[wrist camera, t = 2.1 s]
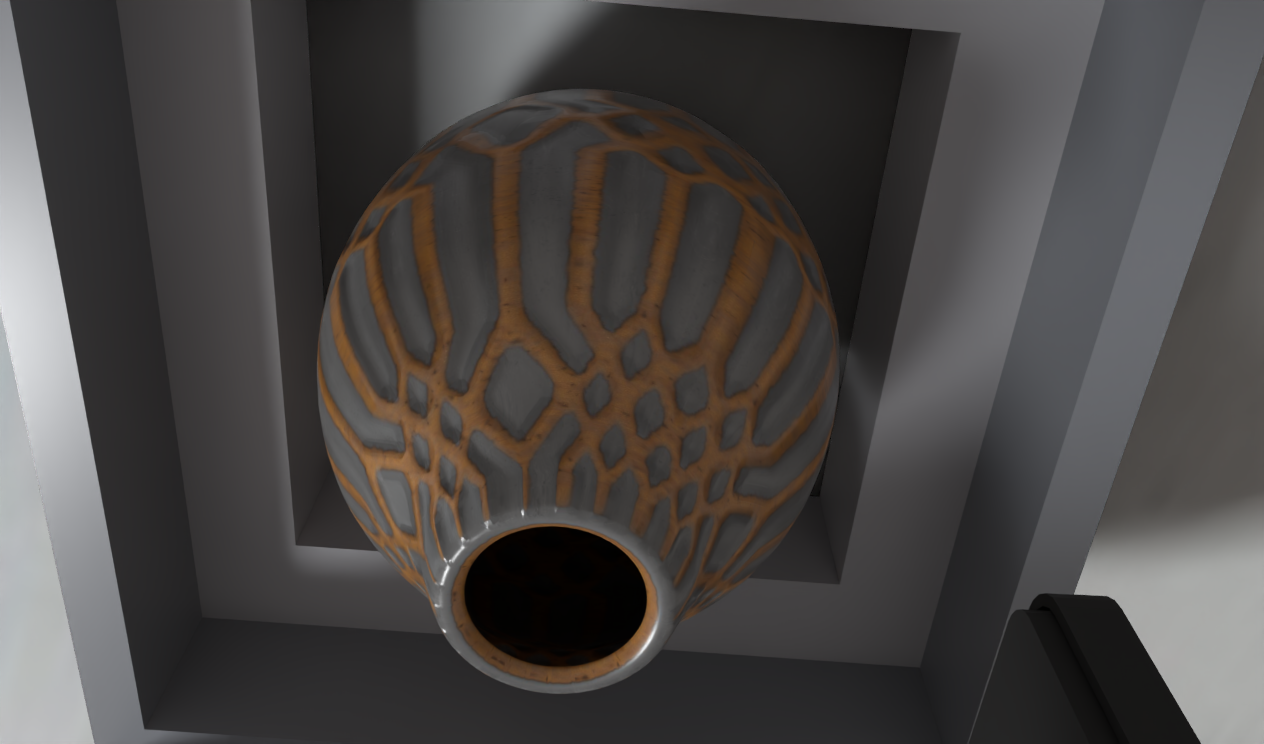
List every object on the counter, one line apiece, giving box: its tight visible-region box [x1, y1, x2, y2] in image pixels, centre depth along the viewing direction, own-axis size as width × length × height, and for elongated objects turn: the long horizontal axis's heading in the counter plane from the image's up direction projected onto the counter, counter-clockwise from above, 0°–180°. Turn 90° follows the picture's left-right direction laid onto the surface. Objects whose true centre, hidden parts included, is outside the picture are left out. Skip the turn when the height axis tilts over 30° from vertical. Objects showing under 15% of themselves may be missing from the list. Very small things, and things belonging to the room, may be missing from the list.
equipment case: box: [0, 0, 1264, 744], centre depth 16 cm, size 14×15×5 cm
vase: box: [317, 89, 840, 694], centre depth 15 cm, size 7×7×9 cm
